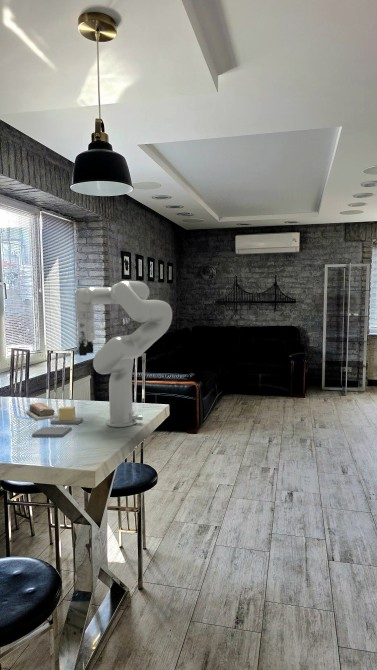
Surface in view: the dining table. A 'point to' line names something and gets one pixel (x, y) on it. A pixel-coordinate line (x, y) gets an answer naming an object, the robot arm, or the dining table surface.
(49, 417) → the packaged product
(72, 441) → the dining table surface
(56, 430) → the ticket board
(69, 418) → the yellow block
